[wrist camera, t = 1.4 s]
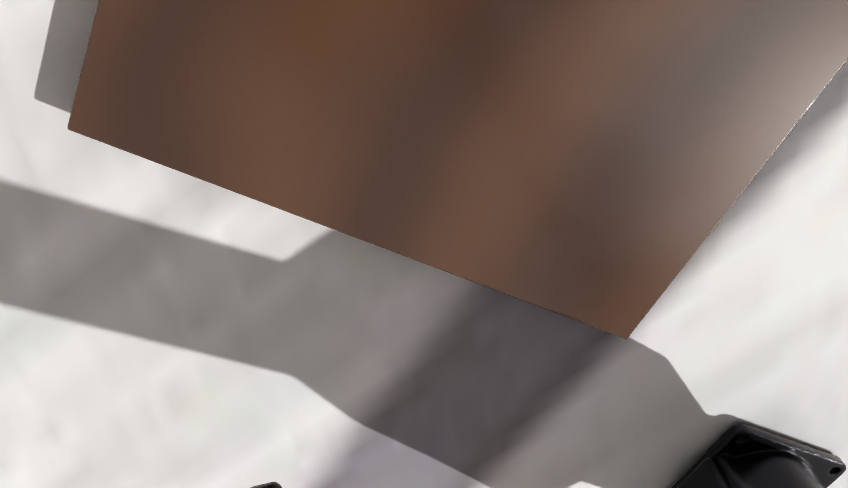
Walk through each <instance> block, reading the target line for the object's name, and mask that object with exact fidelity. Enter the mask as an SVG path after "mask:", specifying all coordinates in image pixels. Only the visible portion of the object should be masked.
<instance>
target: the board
mask: <svg viewBox="0 0 848 488" xmlns="http://www.w3.org/2000/svg"><path fill="white" fill-rule="evenodd" d="M847 60H848V0H99V1H98V5H97V9H96V13H95V17H94V21H93V25H92V29H91V34H90V38H89V42H88V46H87V50H86V54H85V58H84V62H83V66H82V70H81V74H80V78H79V82H78V86H77V90H76V95H75V99H74V103H73V107H72V111H71V115H70V119H69V123H68V129H69V130H71V131H74V132H76V133H79V134H82V135H84V136H87V137H90V138H92V139H95V140H98V141H100V142H103V143H106V144H108V145H111V146H114V147H116V148H119V149H122V150H124V151H127V152H130V153H132V154H135V155H138V156H140V157H143V158H146V159H148V160H151V161H154V162H156V163H159V164H162V165H164V166H167V167H170V168H172V169H175V170H178V171H180V172H183V173H186V174H188V175H191V176H194V177H196V178H199V179H201V180H204V181H207V182H209V183H212V184H215V185H217V186H220V187H223V188H225V189H228V190H231V191H233V192H236V193H239V194H241V195H244V196H247V197H249V198H252V199H255V200H257V201H260V202H263V203H265V204H268V205H271V206H273V207H276V208H279V209H281V210H284V211H287V212H289V213H292V214H295V215H297V216H300V217H303V218H305V219H308V220H311V221H313V222H316V223H319V224H321V225H324V226H327V227H329V228H332V229H335V230H337V231H340V232H342V233H345V234H348V235H350V236H353V237H356V238H358V239H361V240H364V241H366V242H369V243H372V244H374V245H377V246H380V247H382V248H385V249H388V250H390V251H393V252H396V253H398V254H401V255H404V256H406V257H409V258H412V259H414V260H417V261H420V262H422V263H425V264H428V265H430V266H433V267H436V268H438V269H441V270H444V271H446V272H449V273H452V274H454V275H457V276H460V277H462V278H465V279H468V280H470V281H473V282H476V283H478V284H481V285H483V286H486V287H489V288H491V289H494V290H497V291H499V292H502V293H505V294H507V295H510V296H513V297H515V298H518V299H521V300H523V301H526V302H529V303H531V304H534V305H537V306H539V307H542V308H545V309H547V310H550V311H553V312H555V313H558V314H561V315H563V316H566V317H569V318H571V319H574V320H577V321H579V322H582V323H585V324H587V325H590V326H593V327H595V328H598V329H601V330H603V331H606V332H609V333H611V334H614V335H617V336H619V337H622V338H625V339H627V338H628V337H629V336H630V334H631V333H632V332H633V330H634V329H635V328H636V327H637V325H638V324H639V323H640V322H641V320H642V319H643V318H644V317H645V315H646V314H647V313H648V311H649V310H650V309H651V308H652V306H653V305H654V304H655V303H656V301H657V300H658V299H659V298H660V296H661V295H662V294H663V292H664V291H665V290H666V289H667V287H668V286H669V285H670V284H671V282H672V281H673V280H674V279H675V277H676V276H677V275H678V274H679V272H680V271H681V270H682V268H683V267H684V266H685V265H686V263H687V262H688V261H689V260H690V258H691V257H692V256H693V255H694V253H695V252H696V251H697V249H698V248H699V247H700V246H701V244H702V243H703V242H704V241H705V239H706V238H707V237H708V236H709V234H710V233H711V232H712V230H713V229H714V228H715V227H716V225H717V224H718V223H719V222H720V220H721V219H722V218H723V217H724V215H725V214H726V213H727V211H728V210H729V209H730V208H731V206H732V205H733V204H734V203H735V201H736V200H737V199H738V198H739V196H740V195H741V194H742V193H743V191H744V190H745V189H746V187H747V186H748V185H749V184H750V182H751V181H752V180H753V179H754V177H755V176H756V175H757V174H758V172H759V171H760V170H761V168H762V167H763V166H764V165H765V163H766V162H767V161H768V160H769V158H770V157H771V156H772V155H773V153H774V152H775V151H776V149H777V148H778V147H779V146H780V144H781V143H782V142H783V141H784V139H785V138H786V137H787V136H788V134H789V133H790V132H791V130H792V129H793V128H794V127H795V125H796V124H797V123H798V122H799V120H800V119H801V118H802V117H803V115H804V114H805V113H806V111H807V110H808V109H809V108H810V106H811V105H812V104H813V103H814V101H815V100H816V99H817V98H818V96H819V95H820V94H821V93H822V91H823V90H824V89H825V87H826V86H827V85H828V84H829V82H830V81H831V80H832V79H833V77H834V76H835V75H836V74H837V72H838V71H839V70H840V68H841V67H842V66H843V65H844V63H845V62H846V61H847Z"/></svg>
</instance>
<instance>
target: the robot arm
mask: <svg viewBox="0 0 848 488" xmlns="http://www.w3.org/2000/svg"><path fill="white" fill-rule="evenodd" d="M845 469H846V466H845V464H844V463H843V462H842V460H841V459H840V458H839V457H837V456H834V455H832V454H829V453H826V452H823V451H820V450H818V449H815V448H812V447H809V446H806V445H803V444H801V443H798V442H795V441H792V440H789V439H786V438H784V437H781V436H778V435H775V434H772V433H769V432H767V431H764V430H761V429H758V428H755V427H753V426H750V425H747V424H742V423H741V424H736V425H734V426H732V427H731V428H730V429H729V430H728V431H727V432H726V433H725V434H724V435H723V436H722V437H721V438H720V439H719V440H718V441H717V442H716V443H715V444H714V445H713V446H712V447H711V448H710V449H709V450H708V452H707V453H706V454H705V455H704V456H703V457H702V458H701V459H700V460H699V461H698V462H697V463H696V464H695V465H694V466H693V467H692V468H691V469H690V470H689V471H688V472H687V473H686V474H685V476H684V477H683V478H682V479H681V480H680V481H679V482H678V483H677V484H676V485H675V486H674V487H673V488H827V487H828V486H829V485H830V484H831V483H833V482H834V481H835V480H836V479H837V478H838V477H839V476H840V475H842V474H843V472H844V471H845ZM251 488H282V487H281V486H280V484H278V483H277V482H270V483H266V484H262V485H257V486H253V487H251Z"/></svg>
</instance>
